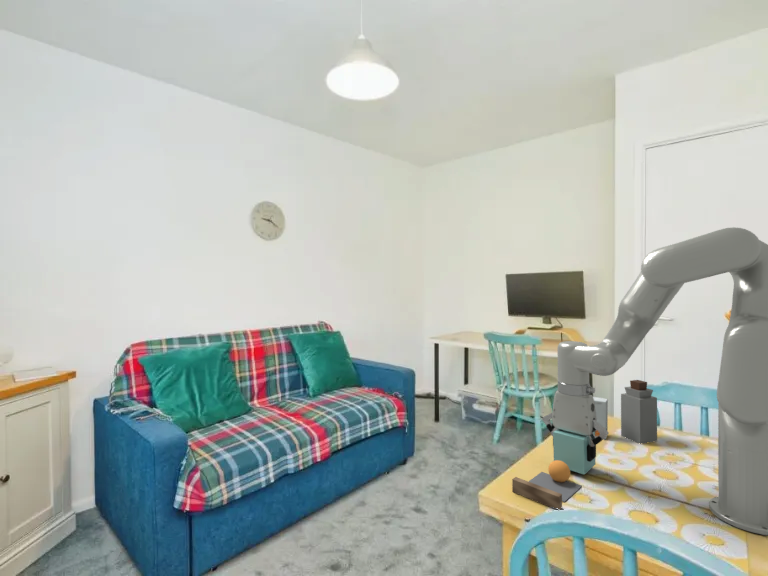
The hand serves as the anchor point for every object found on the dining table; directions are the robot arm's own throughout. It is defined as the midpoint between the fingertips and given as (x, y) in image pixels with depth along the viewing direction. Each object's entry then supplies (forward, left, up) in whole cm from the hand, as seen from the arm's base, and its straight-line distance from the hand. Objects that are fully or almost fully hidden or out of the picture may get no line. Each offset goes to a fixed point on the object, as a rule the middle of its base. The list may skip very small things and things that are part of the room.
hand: (573, 454), depth 106 cm
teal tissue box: (0, 0, -3) cm, 3 cm away
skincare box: (+4, -28, -4) cm, 29 cm away
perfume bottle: (-6, -35, -4) cm, 36 cm away
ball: (0, +9, -1) cm, 9 cm away
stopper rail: (0, +21, -4) cm, 21 cm away
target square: (0, +13, -4) cm, 13 cm away
